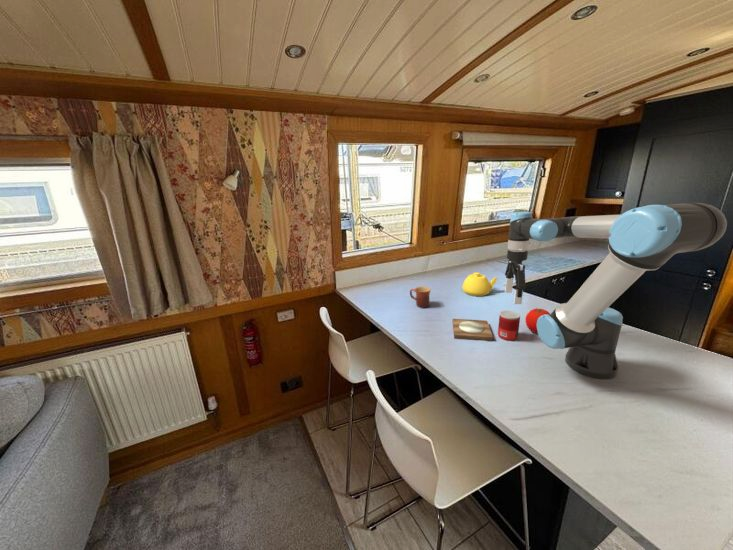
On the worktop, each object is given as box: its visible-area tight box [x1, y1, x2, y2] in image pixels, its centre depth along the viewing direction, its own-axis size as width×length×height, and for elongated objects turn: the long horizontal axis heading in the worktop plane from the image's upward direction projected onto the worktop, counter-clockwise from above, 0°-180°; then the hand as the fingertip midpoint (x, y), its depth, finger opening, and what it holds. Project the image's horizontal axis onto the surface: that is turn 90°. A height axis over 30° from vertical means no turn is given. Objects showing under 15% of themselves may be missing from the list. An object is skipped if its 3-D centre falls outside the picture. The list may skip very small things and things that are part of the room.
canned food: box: [497, 310, 521, 342], centre depth 125 cm, size 8×8×11 cm
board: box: [452, 318, 494, 342], centre depth 133 cm, size 16×16×2 cm
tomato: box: [525, 307, 551, 334], centre depth 128 cm, size 10×11×11 cm
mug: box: [409, 286, 432, 309], centre depth 162 cm, size 12×9×10 cm
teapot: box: [461, 272, 498, 297], centre depth 178 cm, size 20×19×13 cm
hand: (512, 297), depth 124 cm, fingers open, 13 cm apart
